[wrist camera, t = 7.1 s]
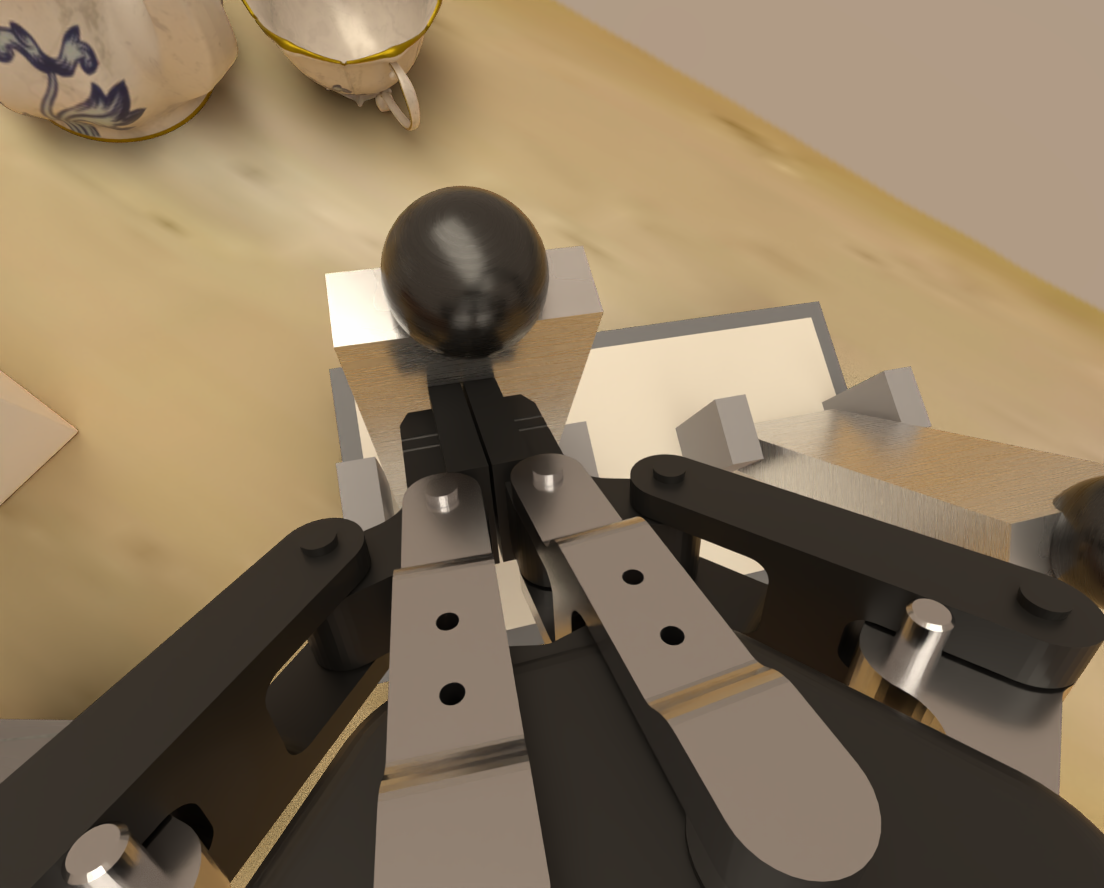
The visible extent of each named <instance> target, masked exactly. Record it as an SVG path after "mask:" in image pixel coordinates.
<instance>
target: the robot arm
mask: <svg viewBox="0 0 1104 888" xmlns="http://www.w3.org/2000/svg"><path fill="white" fill-rule="evenodd" d="M428 393H429V400H430V405H431V409H428V410H422V411H416V412H410V413H407V415H406V416H405V418H404V420H403V421H402V423H401V424H400V434H401V441H402V450H403V458H404V466H405V475H406V483H407V490H406V492H405V494H404V496H403V500H402V508H401V509H400V510H399V511H398V512H397V513H396V514H395V515H394V516H393V517H391V518H390V519H388V520H386V521H385V522H383V523H381V524H379V525H377V526H374V527H372V528H369V529H367V530H365V531H363V530H362V528H361V527H360V526H359V525H358V524H357V523H355V522H354V521H351V520H348V519H343V518H327V519H321V520H317V521H313V522H311V523H308V524H305V525H303V526H301V527H299V528H297V529H296V530H294V531H292V532H291V533H290V534H289V535H287V536H286V537H285V538H284V539H283V540H281V541H280V542H279V543H278V544H277V545H276V546H274V547H273V548H272V549H271V550H270V551H269V552H268V553H266V554H265V555H264V556H263V557H262V558H261V559H259V560H258V561H257V562H256V563H255V564H254V565H253V566H251V567H250V568H249V569H248V570H247V571H246V572H244V573H243V574H242V575H241V576H240V577H239V578H237V579H236V580H235V581H234V582H233V583H232V584H231V585H229V586H228V587H227V588H226V589H225V590H224V591H222V592H221V593H220V594H219V595H218V596H217V597H215V598H214V599H213V600H212V601H211V602H210V603H209V604H207V605H206V606H205V607H204V608H203V609H202V610H200V611H199V612H198V613H197V614H196V615H195V616H194V617H192V618H191V619H190V620H189V621H188V622H187V623H185V624H184V625H183V626H182V627H181V628H180V629H178V630H177V631H176V632H175V633H174V634H173V635H172V636H170V637H169V638H168V639H167V640H166V641H165V642H163V643H162V644H161V645H160V646H159V647H158V648H156V649H155V650H154V651H153V652H152V653H151V654H150V655H148V656H147V657H146V658H145V659H144V660H143V661H141V662H140V663H139V664H138V665H137V666H136V667H135V668H133V669H132V670H131V671H130V672H129V673H128V674H126V675H125V676H124V677H123V678H122V679H121V680H119V681H118V682H117V683H116V684H115V685H114V686H113V687H111V688H110V689H109V690H108V691H107V692H106V693H104V694H103V695H102V696H101V697H100V698H99V699H98V700H96V701H95V702H94V703H93V704H92V705H91V706H89V707H88V708H87V709H86V710H85V711H84V712H82V713H81V714H80V715H79V716H78V717H77V718H76V719H74V720H73V721H72V722H71V723H70V724H69V725H67V726H66V727H65V728H64V729H63V730H62V731H60V732H59V733H58V734H57V735H56V736H55V737H54V738H52V739H51V740H50V741H49V742H48V743H47V744H45V745H44V746H43V747H42V748H41V749H40V750H39V751H37V752H36V753H35V754H34V755H33V756H32V757H30V758H29V759H28V760H27V761H26V762H25V763H23V764H22V765H21V766H20V767H19V768H18V769H17V770H15V771H14V772H13V773H12V774H11V775H10V776H8V777H7V778H6V779H5V780H4V781H3V782H1V783H0V888H231V885H230V882H231V881H232V880H233V878H234V877H235V875H236V874H237V873H238V871H239V870H240V869H241V867H242V866H243V865H244V863H245V862H246V861H247V859H248V858H249V857H250V855H251V854H252V853H253V851H254V850H255V849H256V847H257V846H258V844H259V843H260V842H261V840H262V839H263V838H264V836H265V835H266V834H267V832H268V831H269V830H270V828H271V827H272V826H273V824H274V823H275V822H276V820H277V819H278V818H279V816H280V815H281V814H282V812H283V811H284V809H285V808H286V807H287V805H288V804H289V803H290V801H291V800H292V799H293V797H294V796H295V795H296V793H297V792H298V791H299V789H300V788H301V787H302V785H303V784H304V783H305V781H306V780H307V779H308V777H309V776H310V774H311V773H312V772H313V770H314V769H315V768H316V766H317V765H318V764H319V762H320V761H321V760H322V758H323V757H324V756H325V754H326V753H327V752H328V750H329V749H330V748H331V746H332V745H333V744H334V742H335V741H336V739H337V738H338V737H339V735H340V734H341V733H342V731H343V730H344V729H345V727H346V726H347V725H348V723H349V722H350V721H351V719H352V718H353V717H354V715H355V714H356V713H357V711H358V710H359V708H360V707H361V706H362V704H363V703H364V702H365V700H366V699H367V698H368V696H369V695H370V694H371V692H372V691H373V690H374V688H375V687H376V686H377V684H378V683H379V682H380V680H381V679H382V678H383V676H384V675H385V673H386V672H387V671H388V669H389V691H388V700H387V701H386V702H385V703H384V704H382V705H381V706H380V707H378V708H377V709H376V710H375V711H373V712H372V713H371V714H370V715H369V716H368V717H367V718H366V719H365V720H364V721H363V722H362V723H361V724H360V725H359V726H358V727H357V728H356V730H355V731H354V732H353V733H352V734H351V735H350V736H349V738H348V739H347V740H346V742H345V743H344V744H343V746H342V747H341V749H340V750H339V751H338V753H337V754H336V756H335V757H334V759H333V760H332V762H331V763H330V765H329V766H328V768H327V769H326V770H325V772H324V773H323V775H322V776H321V778H320V779H319V781H318V782H317V784H316V785H315V787H314V788H313V789H312V791H311V792H310V794H309V795H308V797H307V798H306V800H305V801H304V803H303V804H302V805H301V807H300V808H299V810H298V811H297V813H296V814H295V816H294V817H293V819H292V820H291V822H290V823H289V824H288V826H287V827H286V829H285V830H284V832H283V833H282V835H281V836H280V838H279V839H278V841H277V842H276V843H275V845H274V846H273V848H272V849H271V851H270V852H269V854H268V855H267V857H266V858H265V859H264V861H263V862H262V864H261V865H260V867H259V868H258V870H257V871H256V873H255V874H254V876H253V877H252V878H251V880H250V881H249V883H248V884H247V886H246V887H245V888H1104V834H1103V833H1102V832H1101V831H1100V830H1099V829H1098V828H1097V827H1096V826H1095V825H1094V824H1093V823H1092V822H1091V821H1090V820H1088V819H1087V818H1086V817H1085V816H1084V815H1083V814H1082V813H1081V812H1080V811H1078V810H1077V809H1076V808H1075V807H1073V806H1072V805H1071V804H1069V803H1068V802H1067V801H1066V800H1064V799H1063V798H1062V797H1060V796H1059V787H1060V757H1061V726H1062V702H1063V701H1064V699H1065V698H1066V696H1067V695H1068V693H1069V692H1070V690H1071V689H1072V687H1073V686H1074V684H1075V683H1076V681H1077V680H1078V678H1079V677H1080V675H1081V674H1082V672H1083V671H1084V669H1085V668H1086V666H1087V665H1088V663H1089V662H1090V660H1091V659H1092V658H1093V656H1094V655H1095V653H1096V652H1097V650H1098V649H1099V647H1100V646H1101V644H1102V643H1103V641H1104V614H1103V613H1102V611H1101V610H1100V609H1099V608H1098V606H1097V605H1096V604H1095V603H1094V602H1093V601H1092V600H1091V599H1089V598H1088V597H1087V596H1086V595H1084V594H1083V593H1082V592H1080V591H1079V590H1077V589H1075V588H1074V587H1072V586H1070V585H1068V584H1067V583H1065V582H1063V581H1061V580H1058V579H1056V578H1054V577H1051V576H1048V575H1046V574H1043V573H1040V572H1037V571H1034V570H1031V569H1027V568H1024V567H1021V566H1018V565H1015V564H1012V563H1009V562H1006V561H1003V560H1000V559H997V558H994V557H991V556H987V555H984V554H981V553H978V552H975V551H972V550H969V549H966V548H963V547H960V546H957V545H954V544H951V543H947V542H944V541H941V540H938V539H935V538H932V537H929V536H926V535H923V534H920V533H917V532H914V531H911V530H907V529H904V528H901V527H898V526H895V525H892V524H889V523H886V522H883V521H880V520H877V519H874V518H871V517H868V516H864V515H861V514H858V513H855V512H852V511H849V510H846V509H843V508H840V507H837V506H834V505H831V504H828V503H824V502H821V501H818V500H815V499H812V498H809V497H806V496H803V495H800V494H797V493H794V492H791V491H788V490H784V489H781V488H778V487H775V486H772V485H769V484H766V483H763V482H760V481H757V480H754V479H751V478H748V477H744V476H741V475H738V474H735V473H732V472H729V471H726V470H723V469H720V468H717V467H714V466H711V465H708V464H704V463H701V462H698V461H695V460H692V459H689V458H686V457H682V456H678V455H670V454H660V455H653V456H649V457H646V458H643V459H641V460H639V461H638V462H637V463H635V464H634V466H633V467H632V469H631V472H630V479H625V478H599V477H593V476H590V475H589V474H588V472H587V471H586V470H585V468H584V467H583V466H582V464H581V463H580V462H578V461H577V460H576V459H574V458H572V457H569V456H566V455H564V454H563V453H562V451H561V449H560V447H559V445H558V444H557V442H556V440H555V438H554V436H553V434H552V433H551V431H550V429H549V427H547V423H546V422H545V420H544V418H543V417H542V414H541V412H540V411H539V409H538V407H537V405H536V403H535V402H533V401H531V400H530V399H528V398H526V397H525V396H523V395H521V394H518V395H512V396H506V397H503V394H502V392H501V390H500V388H499V386H498V383H497V381H496V379H495V377H492V378H485V379H479V380H473V381H466V382H463V390H462V387H461V384H460V383H454V384H447V385H441V386H435V387H428ZM701 539H703V540H706V541H708V542H711V543H713V544H716V545H718V546H721V547H723V548H726V549H728V550H731V551H733V552H736V553H738V554H741V555H743V556H746V557H749V558H751V559H753V560H755V561H756V562H758V563H759V564H760V565H761V566H762V567H763V568H764V570H765V571H766V573H767V575H768V580H769V581H768V584H765V583H763V582H760V581H758V580H755V579H753V578H751V577H748V576H746V575H743V574H741V573H738V572H736V571H734V570H731V569H729V568H726V567H724V566H722V565H719V564H717V563H714V562H712V561H709V560H707V559H705V558H702V557H700V556H699V553H700V545H701ZM498 546H499V549H500V553H501V556H502V559H503V562H507V561H511V560H517V563H518V566H519V572H520V582H521V589H522V593H523V595H524V597H525V599H526V602H527V604H528V606H529V609H530V611H531V613H532V615H533V618H534V620H535V622H536V625H537V627H538V629H539V632H540V634H541V636H542V638H543V641H544V643H545V645H526V646H509V644H508V639H507V633H506V627H505V621H504V615H503V609H502V603H501V597H500V591H499V586H498V580H497V574H496V568H495V564H499V563H500V559H499V550H498ZM306 640H308V644H307V645H306V646H305V647H304V648H303V649H302V650H301V651H300V652H299V653H298V654H297V656H296V657H295V658H294V659H293V660H292V661H291V662H290V663H289V664H288V665H287V667H286V668H285V669H284V670H283V671H282V672H281V673H280V674H279V675H278V676H277V678H276V679H275V680H274V681H273V682H272V683H271V684H270V682H271V681H272V679H273V677H274V676H275V674H276V673H277V672H278V671H279V670H280V668H281V667H282V666H283V665H284V664H285V663H286V662H287V661H288V660H289V659H290V658H291V656H292V655H293V654H294V653H295V652H296V651H297V650H298V649H299V648H300V647H301V646H302V645H303V643H304V642H305V641H306Z"/></svg>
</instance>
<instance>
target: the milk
mask: <svg viewBox="0 0 1104 888" xmlns="http://www.w3.org/2000/svg"><path fill="white" fill-rule="evenodd" d="M77 432H78V430H77V429H76V428H75V427H73V426H72V425H71V424H69V423H68V422H67V421H66V420H64V419H63V418H62V417H60V416H59V415H58V414H56V413H55V412H54V411H53V410H51V409H50V408H49V407H47V406H46V405H45V404H44V403H42V402H41V401H40V400H38V399H37V398H36V397H34V396H33V395H32V394H31V393H29V392H28V391H27V390H25V389H24V388H23V387H22V386H20V385H19V384H18V383H16V382H15V381H14V380H13V379H11V378H10V377H9V376H7V375H6V374H5V373H3V372H2V371H1V370H0V505H1V504H2V503H3V502H4V501H5V500H6V499H7V498H9V497H10V496H11V495H12V494H13V493H14V492H15V491H16V490H17V489H18V488H19V487H20V486H21V485H22V484H23V483H24V482H26V481H27V480H28V479H29V478H30V477H31V476H32V475H33V474H34V473H35V472H36V471H37V470H38V469H39V468H40V467H42V466H43V465H44V464H45V463H46V462H47V461H48V460H49V459H50V458H51V457H52V456H53V455H54V454H55V453H56V452H57V451H59V450H60V449H61V448H62V447H63V446H64V445H65V444H66V443H67V442H68V441H69V440H70V439H71V438H72V437H73V436H75V435H76V434H77Z"/></svg>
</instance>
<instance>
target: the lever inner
mask: <svg viewBox="0 0 1104 888" xmlns="http://www.w3.org/2000/svg"><path fill="white" fill-rule="evenodd" d="M754 426H755V429H756V433H757V436H758V440H759V443H760V447H761V450H762V453H763V457H764V459H762V460H759V461H757V462H755V463H752V464H750V465H748V466H745V467H743V468H740V469H738V471H740V472H742V473H744V474H747V475H749V476H751V477H753V478H755V479H758V480H760V481H762V482H764V483H766V484H769V485H772V486H775V487H778V488H781V489H784V490H788V491H791V492H794V493H797V494H800V495H803V496H806V497H809V498H812V499H815V500H818V501H821V502H824V503H828V504H831V505H834V506H837V507H840V508H843V509H846V510H849V511H852V512H855V513H858V514H861V515H864V516H868V517H871V518H874V519H877V520H880V521H883V522H886V523H889V524H892V525H895V526H898V527H901V528H904V529H907V530H911V531H914V532H917V533H920V534H923V535H926V536H929V537H932V538H935V539H938V540H941V541H944V542H947V543H951V544H954V545H957V546H960V547H963V548H966V549H969V550H972V551H975V552H978V553H981V554H984V555H987V556H991V557H994V558H997V559H1000V560H1003V561H1006V562H1009V563H1012V564H1015V565H1018V566H1021V567H1024V568H1027V569H1031V570H1034V571H1037V572H1040V573H1043V574H1046V575H1048V576H1051V577H1054V578H1056V579H1058V580H1061V581H1063V582H1065V583H1067V584H1068V585H1070V586H1072V587H1074V588H1075V589H1077V590H1079V591H1080V592H1082V593H1083V594H1084V595H1086V596H1087V597H1088V598H1089V599H1091V600H1092V601H1093V602H1094V603H1095V604H1096V605H1097V606H1098V607H1099V608H1101V609H1104V464H1102V463H1097V462H1092V461H1087V460H1082V459H1077V458H1072V457H1067V456H1063V455H1058V454H1053V453H1048V452H1043V451H1038V450H1033V449H1028V448H1023V447H1019V446H1014V445H1009V444H1004V443H999V442H994V441H989V440H984V439H979V438H975V437H970V436H965V435H960V434H955V433H950V432H945V431H940V430H935V429H931V428H926V427H921V426H916V425H911V424H906V423H901V422H896V421H891V420H887V419H882V418H877V417H872V416H867V415H862V414H857V413H852V412H847V411H843V410H838V409H831V410H825V411H820V412H814V413H809V414H803V415H797V416H792V417H786V418H781V419H775V420H770V421H764V422H758V423H754Z"/></svg>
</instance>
